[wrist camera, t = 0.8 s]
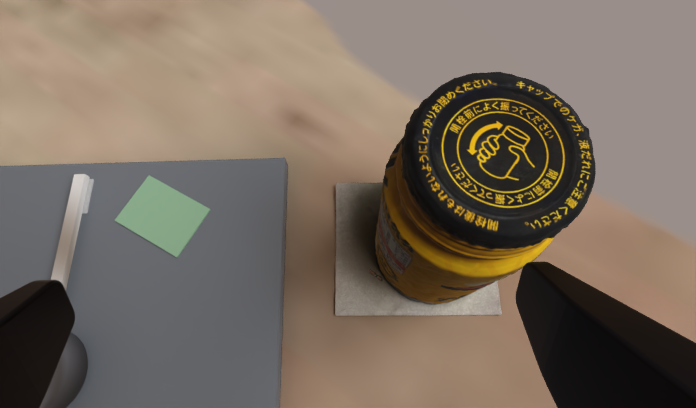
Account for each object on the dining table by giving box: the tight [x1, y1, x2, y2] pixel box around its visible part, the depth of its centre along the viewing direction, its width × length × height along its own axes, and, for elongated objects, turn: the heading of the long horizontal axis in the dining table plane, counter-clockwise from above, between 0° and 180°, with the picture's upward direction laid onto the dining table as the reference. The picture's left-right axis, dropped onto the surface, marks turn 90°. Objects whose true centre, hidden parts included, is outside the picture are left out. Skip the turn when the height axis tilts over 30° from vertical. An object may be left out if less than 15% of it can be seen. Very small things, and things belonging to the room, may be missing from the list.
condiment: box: [335, 72, 595, 316], centre depth 17 cm, size 7×8×12 cm
